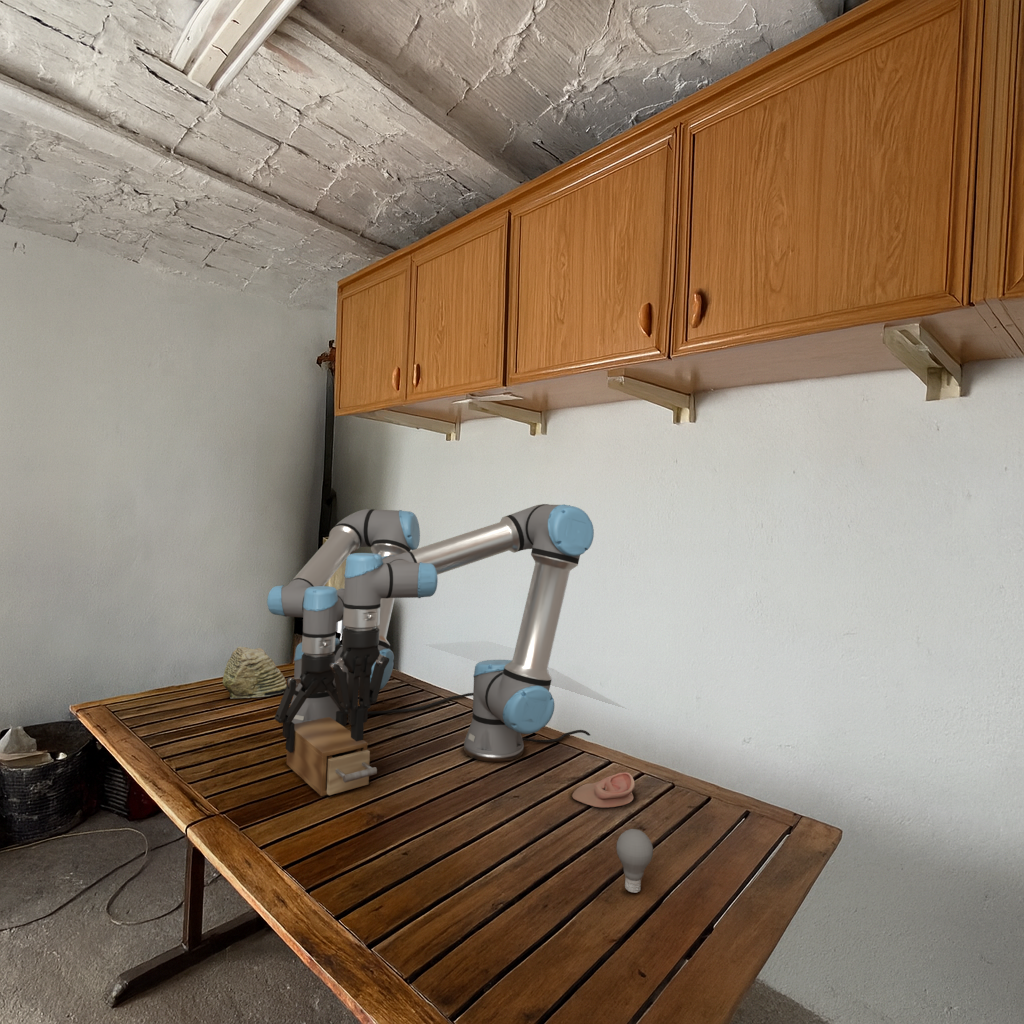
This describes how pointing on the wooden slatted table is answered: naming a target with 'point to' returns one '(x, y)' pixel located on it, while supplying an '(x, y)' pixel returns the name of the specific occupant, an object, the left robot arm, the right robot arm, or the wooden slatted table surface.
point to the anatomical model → (607, 791)
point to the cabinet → (319, 749)
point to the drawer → (348, 771)
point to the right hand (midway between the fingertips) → (356, 738)
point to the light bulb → (634, 857)
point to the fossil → (252, 674)
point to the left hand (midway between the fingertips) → (314, 744)
